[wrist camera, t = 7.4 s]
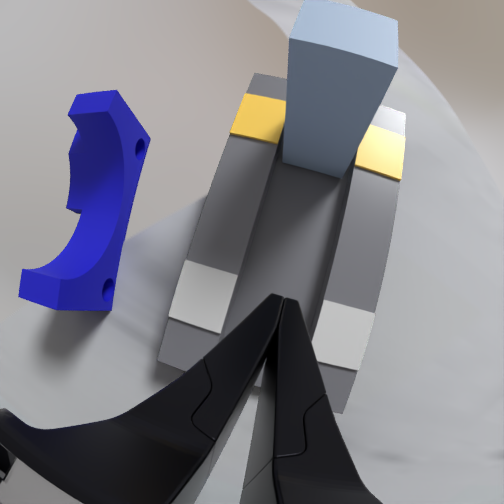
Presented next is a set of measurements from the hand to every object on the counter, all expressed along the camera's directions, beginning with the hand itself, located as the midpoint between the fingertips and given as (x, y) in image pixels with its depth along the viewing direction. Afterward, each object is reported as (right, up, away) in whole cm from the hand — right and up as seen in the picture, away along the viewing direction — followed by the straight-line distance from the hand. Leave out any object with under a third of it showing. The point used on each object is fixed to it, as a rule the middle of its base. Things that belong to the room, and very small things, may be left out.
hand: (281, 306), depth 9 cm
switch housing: (+2, +3, +9) cm, 10 cm away
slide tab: (+3, +8, +9) cm, 12 cm away
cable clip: (-11, +4, +10) cm, 16 cm away
